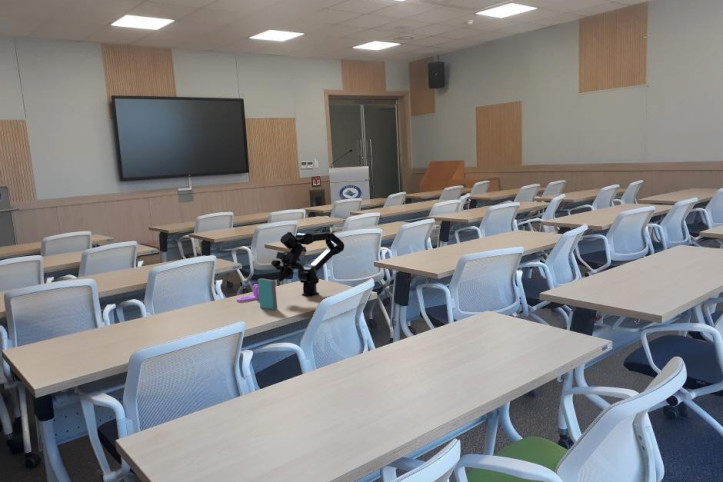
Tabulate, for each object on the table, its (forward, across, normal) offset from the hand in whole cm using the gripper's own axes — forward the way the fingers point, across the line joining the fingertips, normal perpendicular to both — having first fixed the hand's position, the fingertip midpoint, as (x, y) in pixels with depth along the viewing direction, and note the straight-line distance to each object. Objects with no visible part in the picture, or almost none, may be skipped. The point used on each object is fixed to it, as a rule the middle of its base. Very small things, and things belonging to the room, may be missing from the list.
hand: (279, 281), depth 274 cm
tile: (+14, 0, +2) cm, 14 cm away
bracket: (+10, -22, +7) cm, 25 cm away
